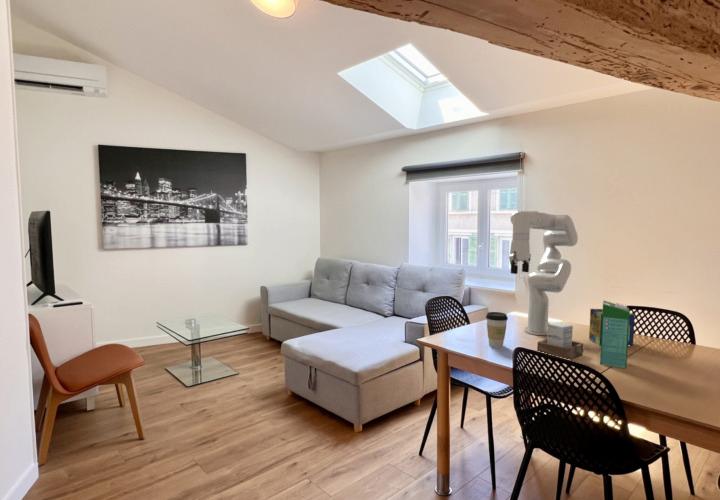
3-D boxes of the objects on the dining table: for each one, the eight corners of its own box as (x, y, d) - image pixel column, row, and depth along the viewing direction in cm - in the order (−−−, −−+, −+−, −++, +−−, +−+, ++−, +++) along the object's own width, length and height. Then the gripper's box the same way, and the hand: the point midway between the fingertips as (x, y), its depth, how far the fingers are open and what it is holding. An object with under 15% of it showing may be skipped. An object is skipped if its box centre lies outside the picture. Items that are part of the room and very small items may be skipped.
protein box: (588, 339, 200) (589, 308, 199) (621, 340, 199) (622, 309, 198) (599, 346, 190) (600, 313, 189) (633, 347, 188) (635, 314, 187)
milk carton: (626, 368, 161) (629, 306, 159) (600, 364, 166) (602, 303, 164) (626, 361, 169) (629, 302, 167) (600, 357, 173) (603, 300, 172)
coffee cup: (508, 349, 184) (509, 317, 183) (486, 348, 186) (486, 315, 185) (505, 343, 194) (506, 312, 193) (483, 341, 196) (484, 311, 195)
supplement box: (546, 351, 180) (547, 323, 179) (556, 348, 184) (557, 321, 183) (561, 356, 173) (562, 327, 172) (572, 353, 177) (573, 325, 176)
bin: (552, 347, 188) (552, 336, 188) (582, 354, 177) (583, 343, 177) (537, 352, 180) (537, 341, 179) (568, 361, 169) (568, 349, 169)
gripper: (523, 236, 202) (522, 270, 203) (503, 237, 192) (502, 273, 193) (537, 237, 196) (536, 272, 198) (518, 237, 186) (516, 275, 187)
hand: (519, 272), depth 195 cm, fingers open, 9 cm apart
